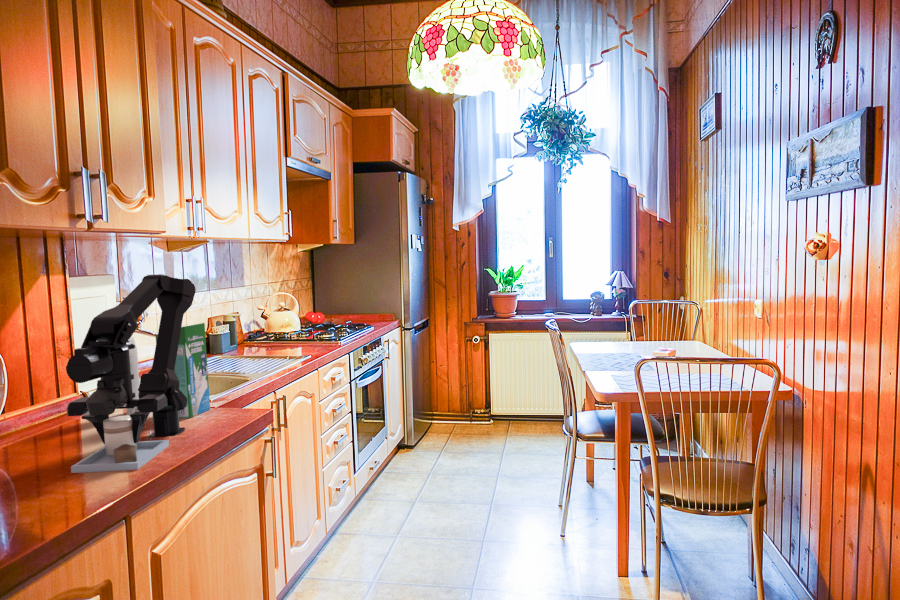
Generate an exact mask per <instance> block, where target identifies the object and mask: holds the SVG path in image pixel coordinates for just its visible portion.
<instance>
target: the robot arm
mask: <svg viewBox="0 0 900 600" xmlns="http://www.w3.org/2000/svg"><path fill="white" fill-rule="evenodd" d="M195 294H196V286H195V283H193V282H192V281H191V280H190V279H188V278H176V277H173V276H172V277H171V276H169V275H165V274H161V273H159V274H147V275H145V276H143V278H142V280H141V282H140V283H139V284H138V285H136V287H135V288H133V290H132V291H131V292H130V293H129V294H127V296H126V297H125V298H124V299H123V300H122V301H121V302H120V303H118V305H116V306H114V307H111V308H110V309H106V310H104V311H102V312H101V313H99V314H98V315H96V316H95V317H93V319H92V320H91V322H90V325H89V328H88V330H87V333H86V335H85V338H84V340H83V342H82V344H81V347H80V348H79V347H78V348H74V350H73V353H74V355H72V356H71V357H70V358H69V359H68V360H67V362H66V363H67V364H66V365H65V371H66V374H67V376H68V378H69V379H70V380H71V381H73V382H74V383H76V384H84V383H86V382H90V381H94V380H97V379H98V380H97V381H96V390H95V391H94V392H92V393H91V394H90V396H88V397H87V396H86V397H80V398H77V399H75V400H73V401H70V402H69V403H68V404H67V406H66V416H67V417H78V416H79V417H80V416H81V417H80V418H81V419H82V420H86V421H87V422H90V423H91V424H92V425H93V427H94V428H95V430H96V432H97V433H98V436H99V438H100V440H101V441H102V443H103V445H104V446H105V439H104V430H103V421H104V420H106V419H108V418H110V415H113V413H115V411H116V410H120V409H121V410H123V409H124V410H126V408H134V410H135V412H134V413H132V414H131V415H130V417H131V419H132V421H133V440H134V443H137V442H138V441H139V440H140V437H141V435H142V432H143V429H144V426H145V423H146V421H147V420H148V418H149V416H150V413H152V424H153V425H152V427H153V432H152V433H150V434H148V436H147V437H148V438H157V437H158V438H159V437H174V436H175V437H176V436H178V435H180V434H181V433H182V432H185V430H186V427H183V426H182V427H181V426H180V418H179V413H178V411H179V410H183V409H184V408H185V407H186V406H187V398H186V396H185V395H184V394H183V393H182V392H181V391H180V390H179V380H178V377H177V375H176V373H175V371H174V369H175V363H176V357H177V350H178V344H179V338H180V332H181V326H182V327H183V317H184V315H185V313H186V312H187V311H188V310H189V308H190V307H191V306H192V305H193V302H194V298H195ZM155 300H156V302H157V304H158V306H159V308H160V310H161V315H160V320H159V325H158V332H157V335H158V337H157V343H156V342H155V348H154V355H153V360H152V361H153V362H152V366H151V369H150V370H148V372H147V373H142V374H141V376H140V377H139V384H140V386H139V388H138V391H139V394H138V396H139V399H133V398H134V397H135V393H132V383H131V380H132V379H134V374H131V370H130V357H129V350H130V349H134V348H135V345H136V344H135V345H134V344H132V343H131V342H129V341H128V340H129V339H130V338H131V337H133V334H134V333H135V332H136V330H137V328H138V319H140V317H141V316H142V314H143V313H145V311H146V310H147V309H148V308H149V307H150V306H151V305H152V304H153V303H154V302H155Z"/></svg>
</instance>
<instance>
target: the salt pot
mask: <svg viewBox="0 0 900 600" xmlns="http://www.w3.org/2000/svg"><path fill="white" fill-rule="evenodd" d="M114 460H115V463H124V462H136V461H137V456H136V446H134V445H129V444H124V445H121V446H120V447H118V448H116V449H114Z"/></svg>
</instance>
